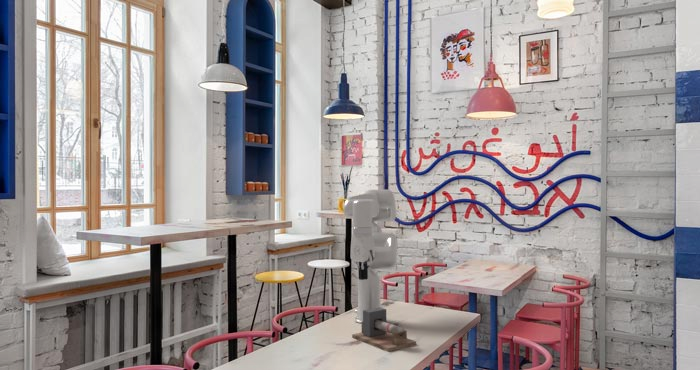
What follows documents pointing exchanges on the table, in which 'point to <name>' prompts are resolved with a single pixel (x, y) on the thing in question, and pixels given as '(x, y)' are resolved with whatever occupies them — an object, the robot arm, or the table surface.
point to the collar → (369, 321)
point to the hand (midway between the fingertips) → (363, 279)
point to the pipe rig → (386, 337)
